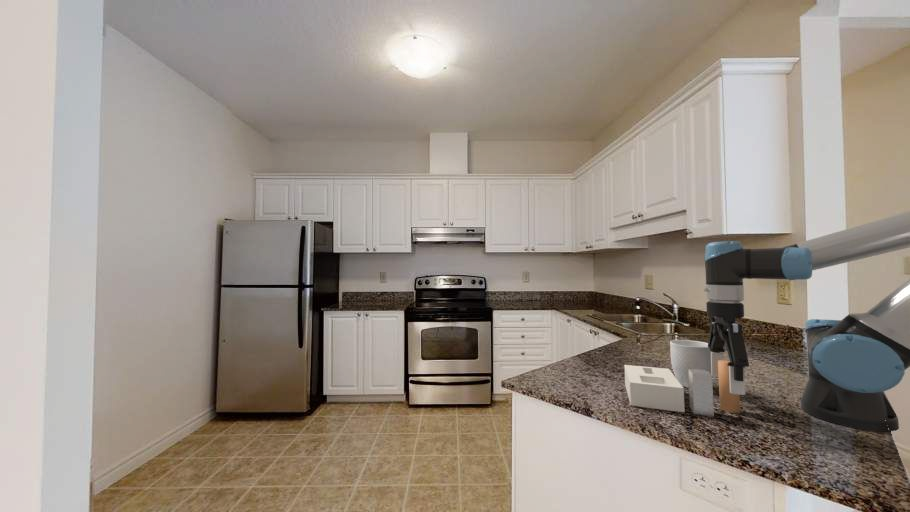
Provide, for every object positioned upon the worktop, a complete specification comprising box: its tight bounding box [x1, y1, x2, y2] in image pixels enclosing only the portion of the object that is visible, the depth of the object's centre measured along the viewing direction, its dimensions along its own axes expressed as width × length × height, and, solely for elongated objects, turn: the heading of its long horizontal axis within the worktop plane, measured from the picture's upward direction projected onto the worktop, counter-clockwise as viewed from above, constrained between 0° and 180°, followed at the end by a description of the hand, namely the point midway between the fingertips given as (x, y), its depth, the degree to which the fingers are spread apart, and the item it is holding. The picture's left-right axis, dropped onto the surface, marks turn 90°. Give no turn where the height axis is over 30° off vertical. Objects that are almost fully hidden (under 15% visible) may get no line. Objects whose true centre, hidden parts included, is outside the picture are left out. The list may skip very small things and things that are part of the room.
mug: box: [669, 339, 727, 389], centre depth 101 cm, size 15×11×13 cm
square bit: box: [688, 369, 715, 417], centre depth 84 cm, size 4×4×10 cm
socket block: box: [624, 364, 685, 413], centre depth 94 cm, size 12×18×6 cm, turn 157°
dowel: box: [718, 359, 741, 414], centre depth 85 cm, size 4×4×12 cm
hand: (726, 384), depth 85 cm, fingers open, 13 cm apart
